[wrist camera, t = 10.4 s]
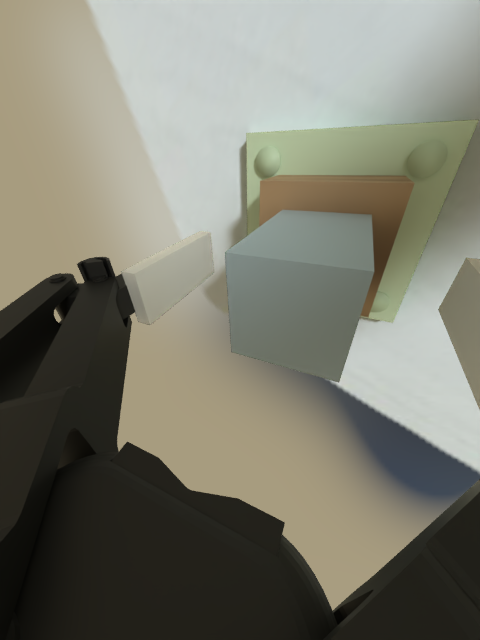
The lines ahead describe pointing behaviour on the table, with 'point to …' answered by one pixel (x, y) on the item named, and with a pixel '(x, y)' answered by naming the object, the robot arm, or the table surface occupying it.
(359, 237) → the column brick
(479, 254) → the table surface
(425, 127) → the plate
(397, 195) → the base brick
